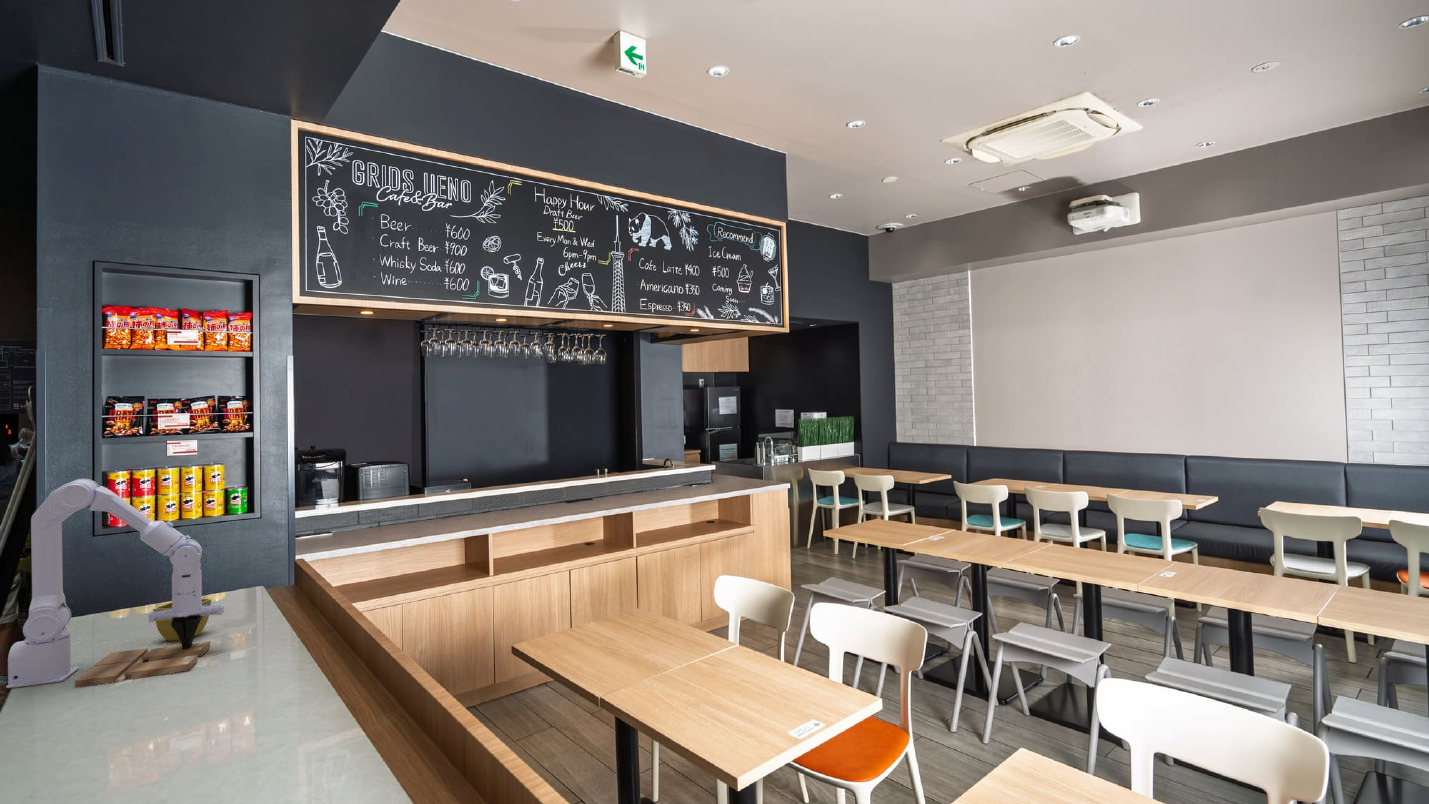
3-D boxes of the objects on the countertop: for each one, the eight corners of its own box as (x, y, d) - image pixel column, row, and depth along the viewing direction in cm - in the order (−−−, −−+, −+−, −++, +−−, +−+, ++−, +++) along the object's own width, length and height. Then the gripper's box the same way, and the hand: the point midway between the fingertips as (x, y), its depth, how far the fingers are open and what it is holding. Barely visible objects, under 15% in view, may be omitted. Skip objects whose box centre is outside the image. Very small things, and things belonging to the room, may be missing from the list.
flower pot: (186, 643, 173) (186, 608, 173) (152, 643, 173) (152, 608, 173) (212, 632, 181) (212, 598, 181) (180, 632, 182) (180, 598, 182)
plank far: (142, 663, 159) (141, 657, 159) (151, 655, 165) (151, 648, 165) (202, 655, 164) (202, 649, 164) (210, 647, 169) (210, 641, 169)
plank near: (124, 679, 150) (124, 672, 150) (135, 670, 156) (135, 663, 156) (188, 670, 155) (188, 663, 155) (197, 661, 160) (197, 654, 160)
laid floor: (74, 687, 146) (74, 680, 146) (111, 658, 163) (111, 652, 163) (122, 681, 149) (122, 674, 149) (153, 653, 166) (153, 647, 166)
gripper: (143, 599, 159) (143, 657, 159) (218, 592, 164) (218, 648, 164) (154, 591, 165) (155, 647, 165) (226, 584, 171) (226, 639, 171)
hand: (187, 647), depth 165 cm, fingers closed
